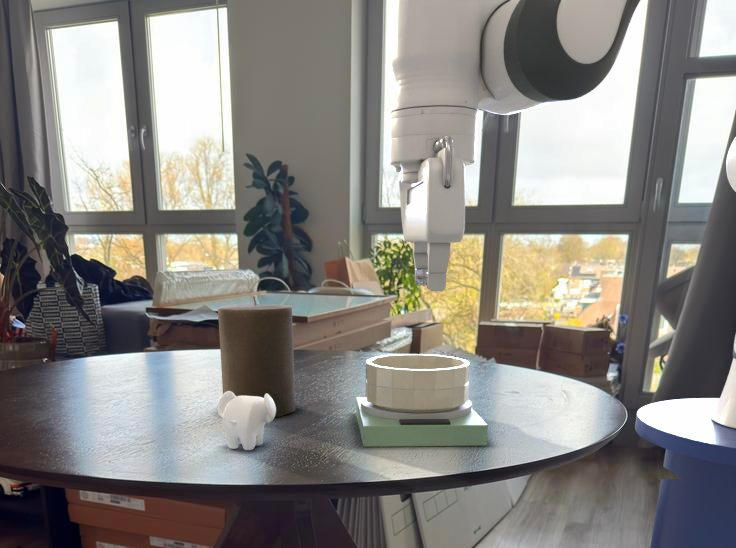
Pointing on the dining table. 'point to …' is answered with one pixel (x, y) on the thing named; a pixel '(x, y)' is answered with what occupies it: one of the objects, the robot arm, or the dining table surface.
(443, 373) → the bowl
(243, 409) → the elephant figurine
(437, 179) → the robot arm
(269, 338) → the pillar candle
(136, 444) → the dining table surface
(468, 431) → the scale
